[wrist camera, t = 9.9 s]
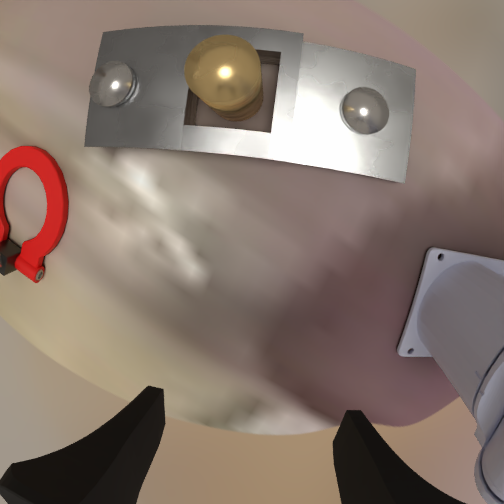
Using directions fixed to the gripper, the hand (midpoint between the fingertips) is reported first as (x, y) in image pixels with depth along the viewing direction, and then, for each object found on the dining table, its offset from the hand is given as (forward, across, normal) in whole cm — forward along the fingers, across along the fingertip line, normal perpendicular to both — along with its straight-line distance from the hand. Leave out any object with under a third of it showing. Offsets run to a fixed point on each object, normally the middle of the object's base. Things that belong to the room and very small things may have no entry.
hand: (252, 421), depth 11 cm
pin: (+9, +3, -13) cm, 16 cm away
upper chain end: (+9, +5, -13) cm, 17 cm away
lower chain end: (+9, 0, -13) cm, 16 cm away
